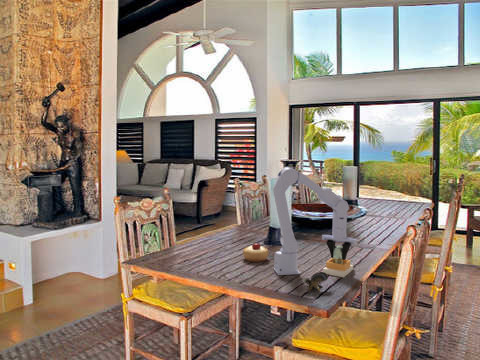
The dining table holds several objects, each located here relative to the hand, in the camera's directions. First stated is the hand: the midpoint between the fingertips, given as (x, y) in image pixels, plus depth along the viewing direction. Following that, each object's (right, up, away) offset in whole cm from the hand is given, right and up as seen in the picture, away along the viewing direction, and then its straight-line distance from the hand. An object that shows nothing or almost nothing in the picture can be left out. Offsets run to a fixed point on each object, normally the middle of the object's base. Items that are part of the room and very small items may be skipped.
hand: (338, 258), depth 170 cm
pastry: (-34, -4, +18) cm, 39 cm away
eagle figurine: (-14, -8, -20) cm, 25 cm away
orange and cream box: (0, -6, +1) cm, 6 cm away
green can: (0, -2, 0) cm, 2 cm away
